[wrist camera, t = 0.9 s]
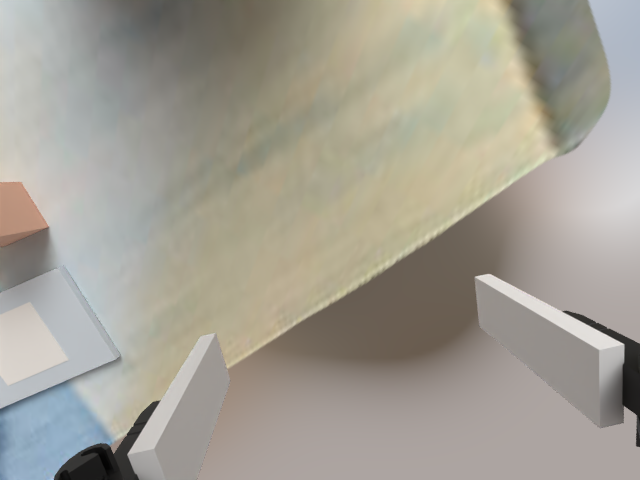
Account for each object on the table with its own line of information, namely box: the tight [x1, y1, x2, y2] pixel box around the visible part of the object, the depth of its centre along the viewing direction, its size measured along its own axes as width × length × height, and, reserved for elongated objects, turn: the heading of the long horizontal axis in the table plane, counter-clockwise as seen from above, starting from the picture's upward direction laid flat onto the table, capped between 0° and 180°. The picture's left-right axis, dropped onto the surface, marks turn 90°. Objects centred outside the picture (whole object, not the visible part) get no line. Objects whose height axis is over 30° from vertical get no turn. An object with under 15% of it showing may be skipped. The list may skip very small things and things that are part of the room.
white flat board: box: [0, 265, 120, 408], centre depth 41 cm, size 14×20×1 cm
